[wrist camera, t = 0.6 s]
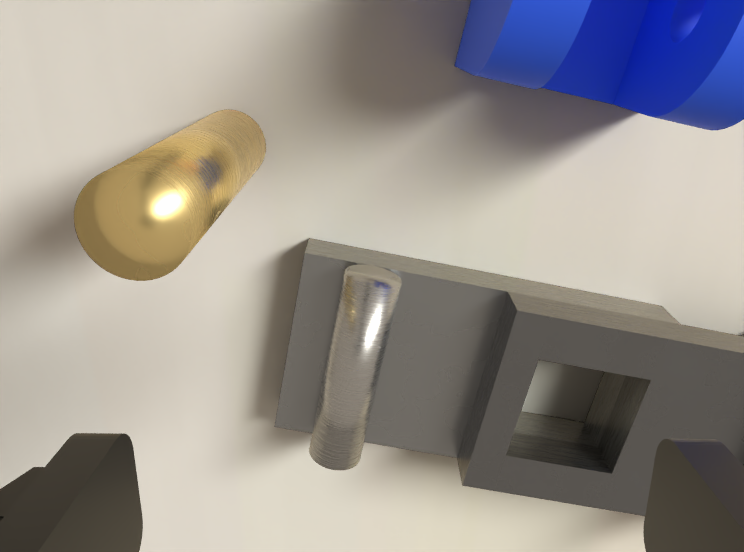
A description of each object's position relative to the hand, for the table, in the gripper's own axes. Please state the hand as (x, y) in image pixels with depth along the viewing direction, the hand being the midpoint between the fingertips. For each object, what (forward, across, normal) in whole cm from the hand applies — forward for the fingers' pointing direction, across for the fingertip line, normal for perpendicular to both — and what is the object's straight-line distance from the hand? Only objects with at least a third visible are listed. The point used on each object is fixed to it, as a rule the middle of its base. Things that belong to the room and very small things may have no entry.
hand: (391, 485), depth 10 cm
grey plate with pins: (+20, -9, +8) cm, 23 cm away
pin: (+20, +6, -3) cm, 21 cm away
